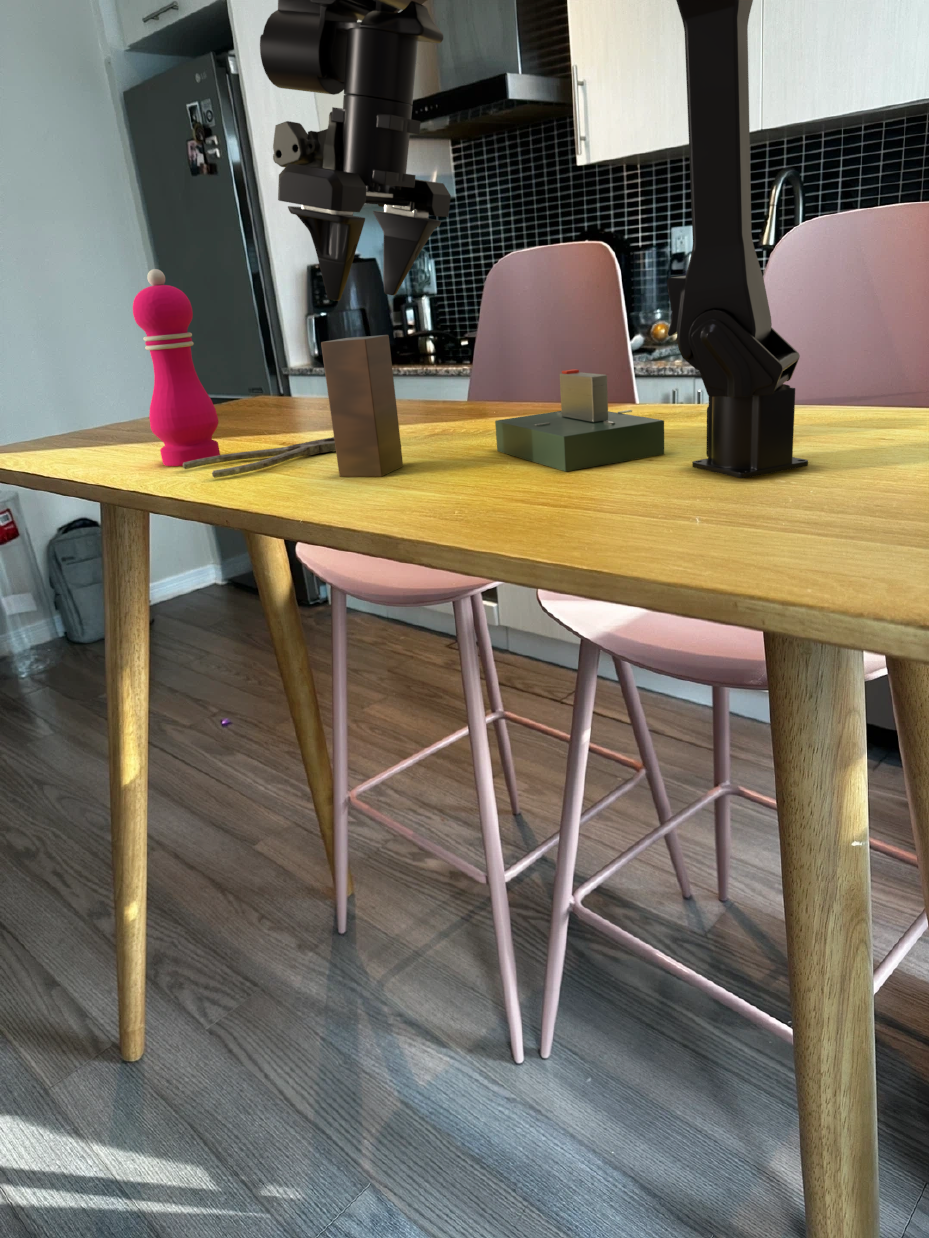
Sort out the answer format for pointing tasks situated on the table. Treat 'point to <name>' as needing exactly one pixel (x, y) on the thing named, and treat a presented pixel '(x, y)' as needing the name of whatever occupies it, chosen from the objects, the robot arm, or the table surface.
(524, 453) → the dark green flat block
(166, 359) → the pepper mill
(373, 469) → the walnut block
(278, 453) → the forked twig
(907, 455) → the table surface
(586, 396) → the grey slab
